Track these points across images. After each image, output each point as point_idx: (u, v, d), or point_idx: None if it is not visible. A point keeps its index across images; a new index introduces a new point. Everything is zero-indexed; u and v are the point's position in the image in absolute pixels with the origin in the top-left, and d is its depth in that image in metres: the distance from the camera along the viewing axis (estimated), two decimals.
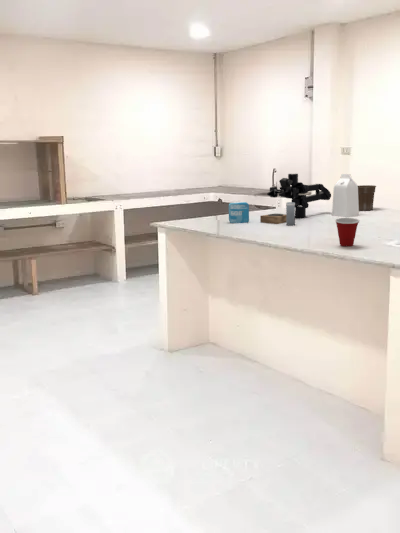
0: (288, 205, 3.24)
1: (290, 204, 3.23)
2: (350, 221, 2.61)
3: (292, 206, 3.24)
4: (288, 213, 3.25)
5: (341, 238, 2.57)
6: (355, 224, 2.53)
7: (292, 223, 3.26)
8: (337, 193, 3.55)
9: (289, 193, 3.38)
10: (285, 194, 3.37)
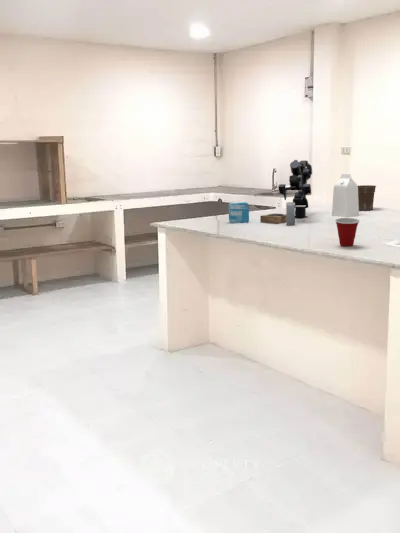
0: (288, 205, 3.24)
1: (290, 204, 3.23)
2: (350, 221, 2.61)
3: (292, 206, 3.24)
4: (288, 213, 3.25)
5: (341, 238, 2.57)
6: (355, 224, 2.53)
7: (292, 223, 3.26)
8: (337, 193, 3.55)
9: (306, 191, 3.34)
10: (303, 194, 3.33)
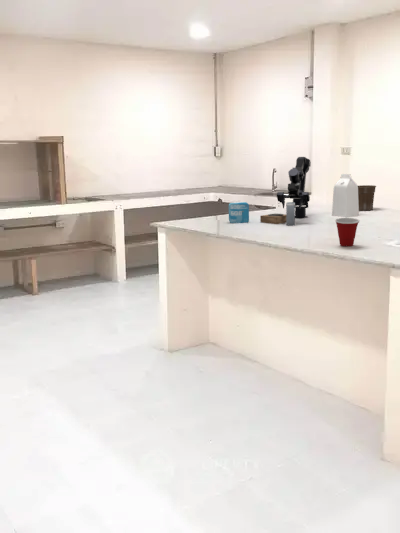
0: (288, 205, 3.24)
1: (290, 204, 3.23)
2: (350, 221, 2.61)
3: (292, 206, 3.24)
4: (288, 213, 3.25)
5: (341, 238, 2.57)
6: (355, 224, 2.53)
7: (292, 223, 3.26)
8: (338, 192, 3.55)
9: (304, 199, 3.29)
10: (302, 202, 3.29)
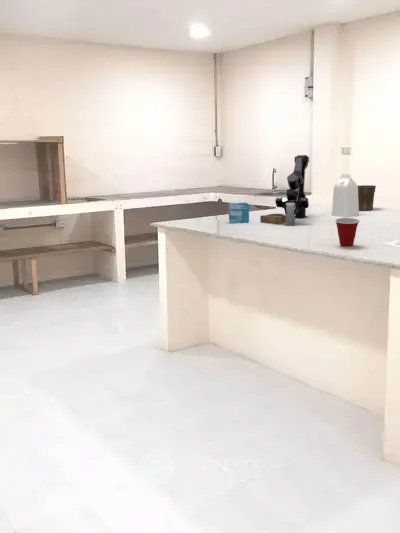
0: (288, 205, 3.24)
1: (290, 204, 3.23)
2: (350, 221, 2.61)
3: (292, 206, 3.24)
4: (288, 213, 3.25)
5: (341, 238, 2.57)
6: (355, 224, 2.53)
7: (292, 223, 3.26)
8: (338, 192, 3.55)
9: (300, 205, 3.27)
10: (297, 208, 3.27)
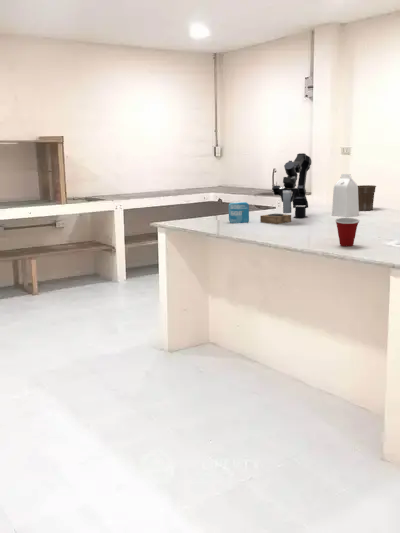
0: (284, 193, 3.25)
1: (286, 192, 3.24)
2: (350, 221, 2.61)
3: (288, 194, 3.25)
4: (284, 201, 3.26)
5: (341, 238, 2.57)
6: (355, 224, 2.53)
7: (288, 211, 3.27)
8: (337, 192, 3.55)
9: (297, 192, 3.27)
10: (294, 196, 3.27)
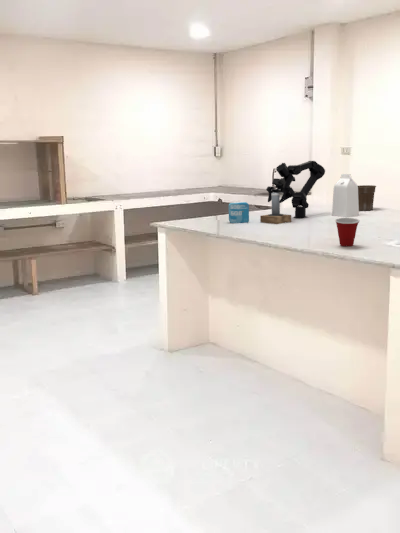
0: (272, 195, 3.39)
1: (273, 194, 3.38)
2: (350, 221, 2.61)
3: (275, 196, 3.38)
4: (272, 203, 3.40)
5: (341, 238, 2.57)
6: (355, 224, 2.53)
7: (275, 212, 3.40)
8: (338, 192, 3.55)
9: (288, 194, 3.37)
10: (285, 197, 3.37)
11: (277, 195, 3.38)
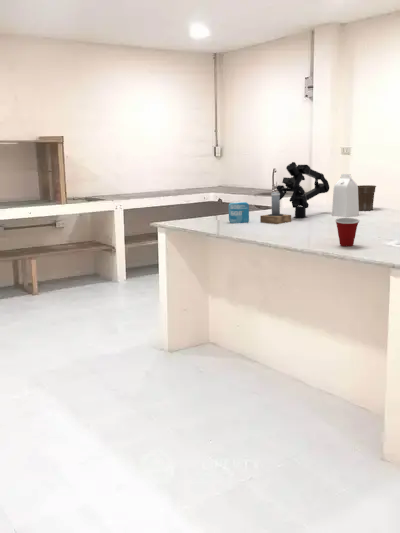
0: (272, 195, 3.39)
1: (273, 194, 3.38)
2: (350, 221, 2.61)
3: (275, 196, 3.38)
4: (272, 203, 3.40)
5: (341, 238, 2.57)
6: (355, 224, 2.53)
7: (275, 213, 3.40)
8: (338, 192, 3.55)
9: (298, 193, 3.42)
10: (295, 196, 3.43)
11: (277, 195, 3.38)
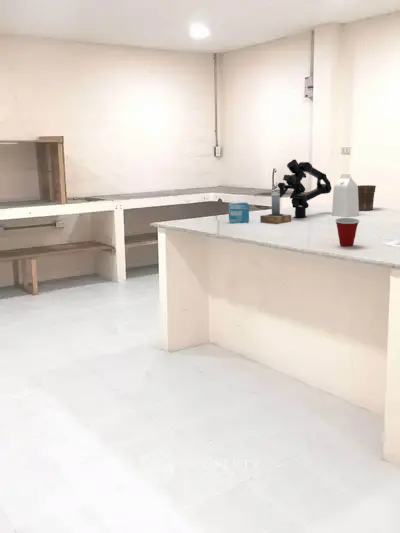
0: (272, 195, 3.39)
1: (273, 194, 3.38)
2: (350, 221, 2.61)
3: (275, 196, 3.38)
4: (272, 203, 3.40)
5: (341, 238, 2.57)
6: (355, 224, 2.53)
7: (275, 213, 3.40)
8: (337, 193, 3.55)
9: (298, 190, 3.43)
10: (295, 193, 3.44)
11: (277, 195, 3.38)
